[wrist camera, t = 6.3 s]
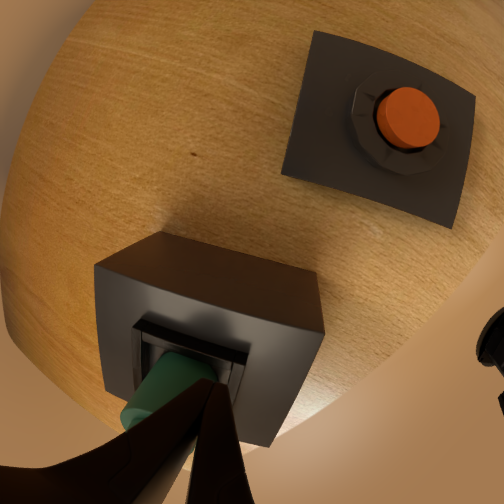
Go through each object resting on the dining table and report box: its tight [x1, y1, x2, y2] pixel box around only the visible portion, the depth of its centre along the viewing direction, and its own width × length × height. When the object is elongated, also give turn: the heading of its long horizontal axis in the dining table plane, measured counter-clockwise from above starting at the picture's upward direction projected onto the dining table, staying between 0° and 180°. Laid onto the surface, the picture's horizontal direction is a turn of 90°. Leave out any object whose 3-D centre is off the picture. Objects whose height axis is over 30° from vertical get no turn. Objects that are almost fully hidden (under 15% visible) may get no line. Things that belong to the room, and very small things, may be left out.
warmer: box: [94, 231, 325, 448], centre depth 17 cm, size 12×10×9 cm
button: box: [377, 87, 440, 149], centre depth 12 cm, size 3×3×2 cm
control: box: [281, 30, 476, 229], centre depth 14 cm, size 12×10×4 cm
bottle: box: [120, 351, 218, 455], centre depth 11 cm, size 4×4×6 cm
